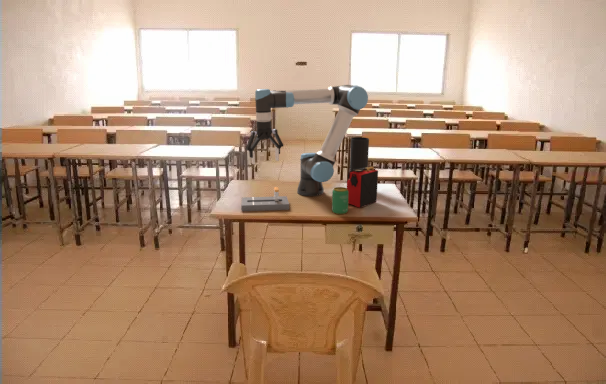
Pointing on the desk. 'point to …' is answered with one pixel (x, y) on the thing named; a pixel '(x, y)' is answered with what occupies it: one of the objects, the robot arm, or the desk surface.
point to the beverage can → (340, 200)
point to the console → (264, 203)
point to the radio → (362, 186)
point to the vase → (359, 153)
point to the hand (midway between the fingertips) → (265, 162)
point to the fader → (276, 194)
